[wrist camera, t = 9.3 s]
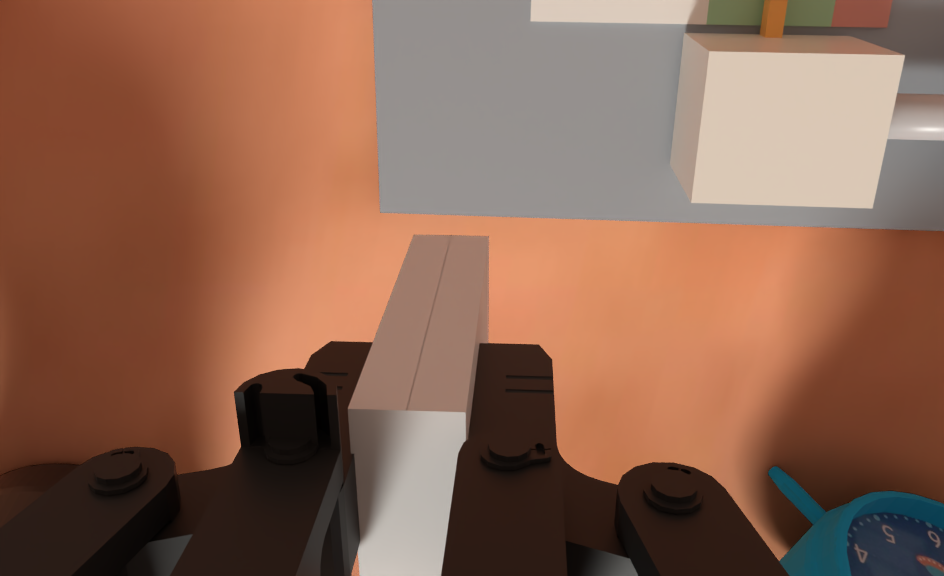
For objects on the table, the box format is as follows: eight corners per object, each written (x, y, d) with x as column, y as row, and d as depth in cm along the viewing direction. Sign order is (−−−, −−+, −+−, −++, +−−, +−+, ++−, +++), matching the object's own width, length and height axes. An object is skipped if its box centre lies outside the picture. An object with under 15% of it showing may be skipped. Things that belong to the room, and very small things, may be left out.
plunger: (669, 164, 33) (691, 203, 28) (690, -25, 30) (717, -16, 25) (1038, 174, 32) (1122, 216, 27) (1095, -20, 29) (1199, -10, 24)
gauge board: (385, 203, 36) (350, 266, 29) (376, -45, 32) (334, -38, 25) (1059, 225, 34) (1183, 297, 27) (1139, -36, 30) (1308, -25, 23)
